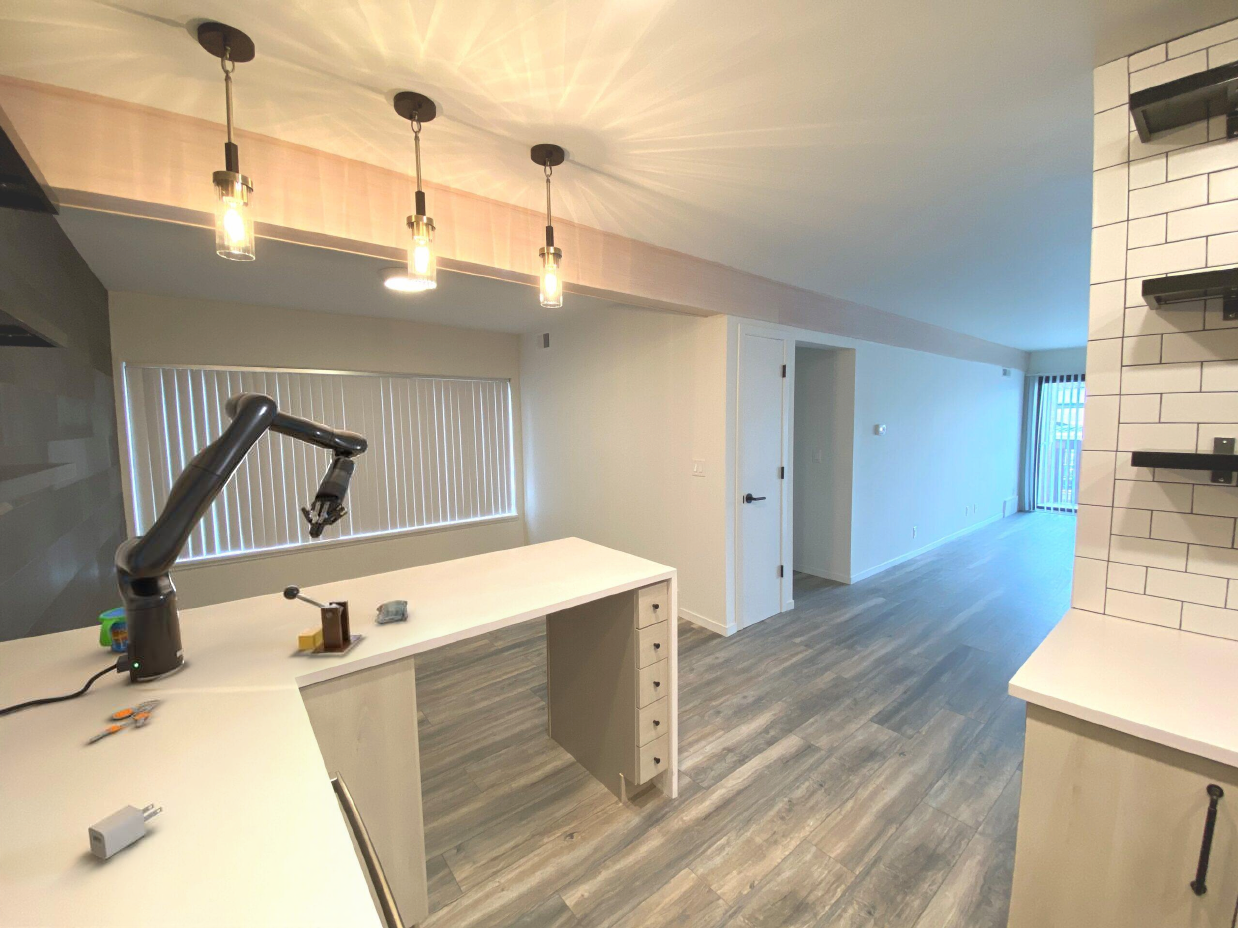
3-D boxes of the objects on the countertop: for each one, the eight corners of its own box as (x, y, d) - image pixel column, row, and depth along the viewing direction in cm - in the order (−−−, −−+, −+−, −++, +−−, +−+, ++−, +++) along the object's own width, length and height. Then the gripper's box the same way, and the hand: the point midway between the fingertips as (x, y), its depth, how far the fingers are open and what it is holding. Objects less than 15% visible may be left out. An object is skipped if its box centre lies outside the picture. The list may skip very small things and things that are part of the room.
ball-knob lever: (277, 598, 129) (283, 586, 129) (286, 593, 133) (291, 581, 133) (333, 621, 130) (338, 609, 130) (340, 616, 134) (346, 604, 134)
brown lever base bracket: (311, 656, 128) (307, 612, 127) (332, 639, 138) (329, 597, 137) (343, 655, 128) (339, 611, 127) (362, 638, 138) (359, 596, 137)
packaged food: (375, 629, 144) (374, 612, 143) (377, 614, 155) (376, 599, 154) (408, 624, 147) (407, 607, 147) (407, 610, 158) (407, 595, 158)
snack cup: (137, 634, 143) (133, 600, 142) (175, 633, 144) (172, 598, 143) (81, 661, 128) (76, 622, 127) (124, 659, 128) (119, 621, 127)
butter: (293, 655, 129) (292, 638, 128) (311, 641, 137) (310, 625, 136) (312, 655, 129) (311, 637, 128) (329, 641, 137) (328, 624, 136)
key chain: (123, 707, 106) (123, 703, 106) (166, 699, 109) (166, 696, 109) (84, 743, 95) (84, 739, 94) (134, 734, 97) (133, 730, 97)
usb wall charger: (91, 852, 71) (87, 825, 70) (151, 815, 77) (148, 791, 77) (107, 860, 69) (103, 833, 69) (167, 822, 76) (164, 797, 75)
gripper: (305, 480, 150) (283, 530, 139) (350, 479, 150) (331, 528, 139) (317, 495, 156) (296, 544, 145) (360, 494, 156) (343, 542, 145)
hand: (313, 536), depth 142 cm, fingers closed
